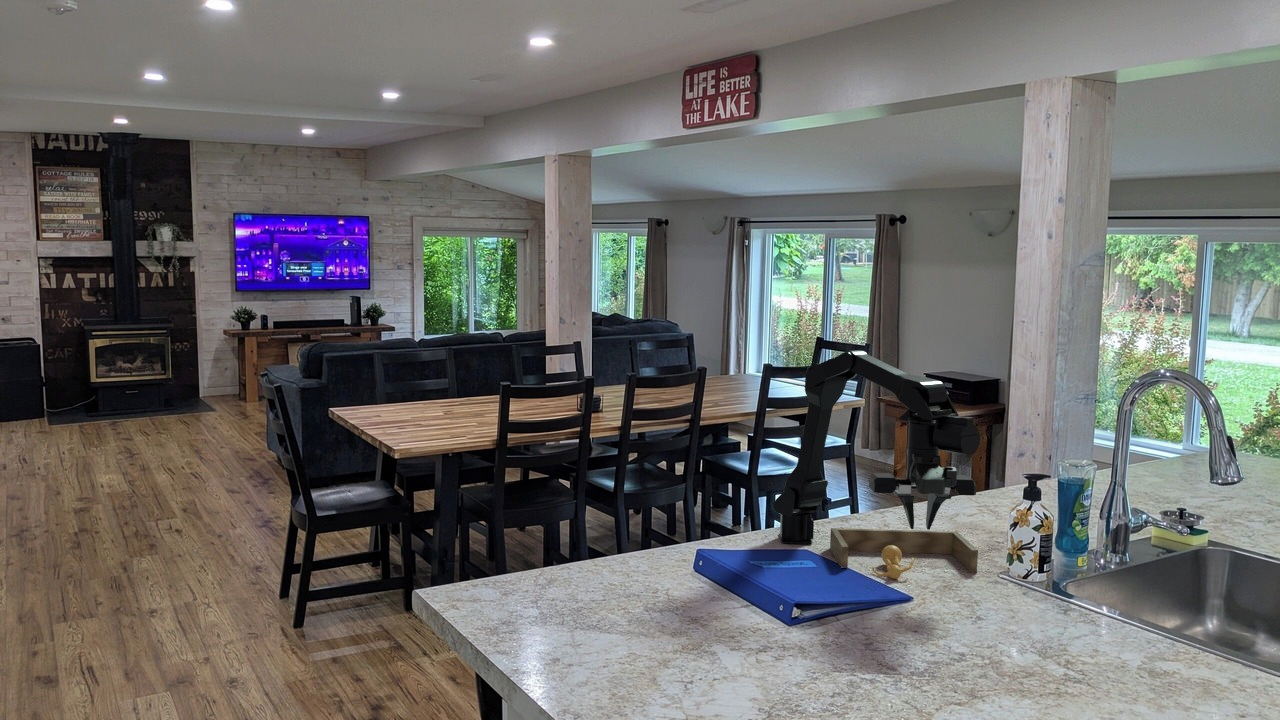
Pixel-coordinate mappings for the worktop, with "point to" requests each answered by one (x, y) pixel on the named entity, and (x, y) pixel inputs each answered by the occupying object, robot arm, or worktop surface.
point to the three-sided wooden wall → (902, 543)
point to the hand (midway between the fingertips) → (919, 529)
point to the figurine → (893, 562)
